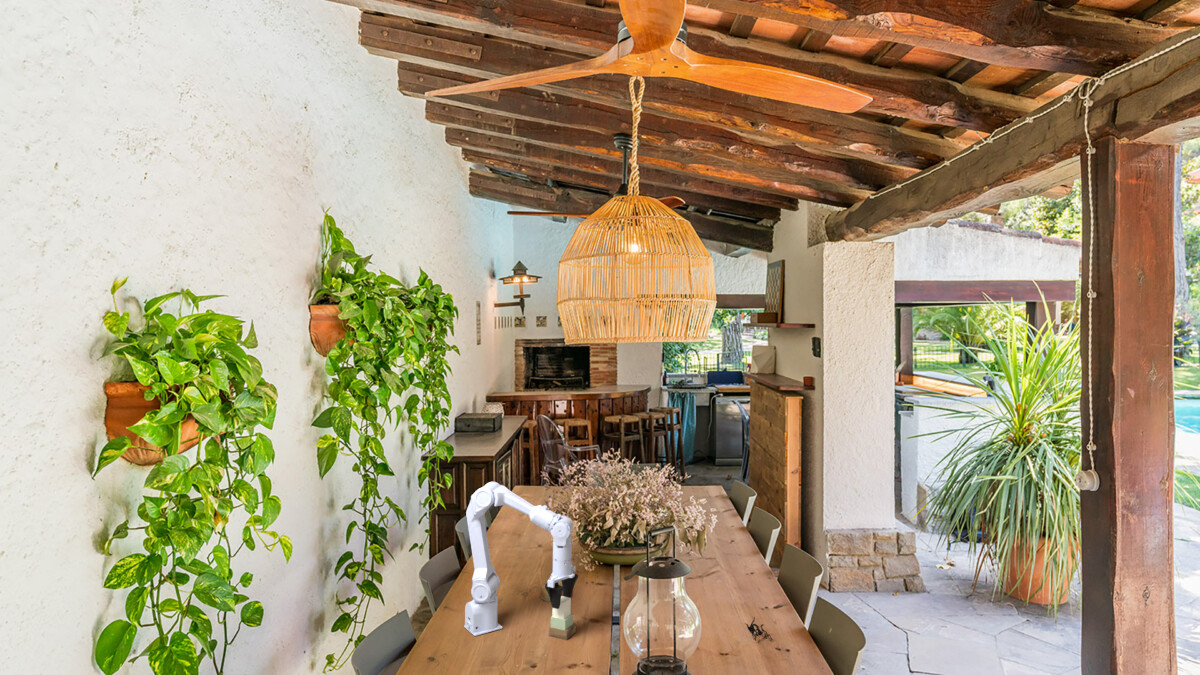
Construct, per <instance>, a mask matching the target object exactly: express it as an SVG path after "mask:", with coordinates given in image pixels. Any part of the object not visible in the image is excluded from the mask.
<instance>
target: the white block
mask: <svg viewBox="0 0 1200 675" xmlns="http://www.w3.org/2000/svg"><path fill="white" fill-rule="evenodd" d="M571 599H572V597H571V598H569V597H564V596H561V601H560V607H559V609H556V608H552V607H551V608H552V611H551V612H552V615H551V616H552V617H556V618H560V619H565V618H566V617H568V616H569V615H570V614H572V613H571V611H572V609H571V606H572V605H571V603H572V600H571Z"/></svg>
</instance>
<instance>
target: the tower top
mask: <svg viewBox="0 0 1200 675" xmlns="http://www.w3.org/2000/svg"><path fill="white" fill-rule="evenodd" d="M573 623H574V614H573V613H571V614H570V615H569V616H568V617H566V618H565V619H560V618H556V617H552V615H551V616H550V626H551V627H552V628H557V629H561V630H566V629H568V628H569V627H570V626H571V625H573Z"/></svg>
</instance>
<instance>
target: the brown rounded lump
mask: <svg viewBox="0 0 1200 675" xmlns="http://www.w3.org/2000/svg"><path fill="white" fill-rule="evenodd" d="M546 583H548V581H547V582H546ZM558 585H559V586H562V581H560V582H558ZM539 596H540V598H541V599H542V600H543V601H544V602H547V603H551V600H550V597H549V594H548V592H547V590H546V588H545V584H543V585H542V587H541V588H540V593H539ZM561 596H563V591H562V594H561Z"/></svg>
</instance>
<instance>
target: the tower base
mask: <svg viewBox="0 0 1200 675" xmlns="http://www.w3.org/2000/svg"><path fill="white" fill-rule="evenodd" d="M576 633H577V623H576V622H573V625H571V626H570V627H569V628H568V629H566V630H561V629H557V628H552V627H551V625H550V626H549V627H548V637H551V638H555V639H559V640H564V641H568V638H569V639H570V638H571V637H572V636H573V635H574V634H576Z"/></svg>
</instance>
